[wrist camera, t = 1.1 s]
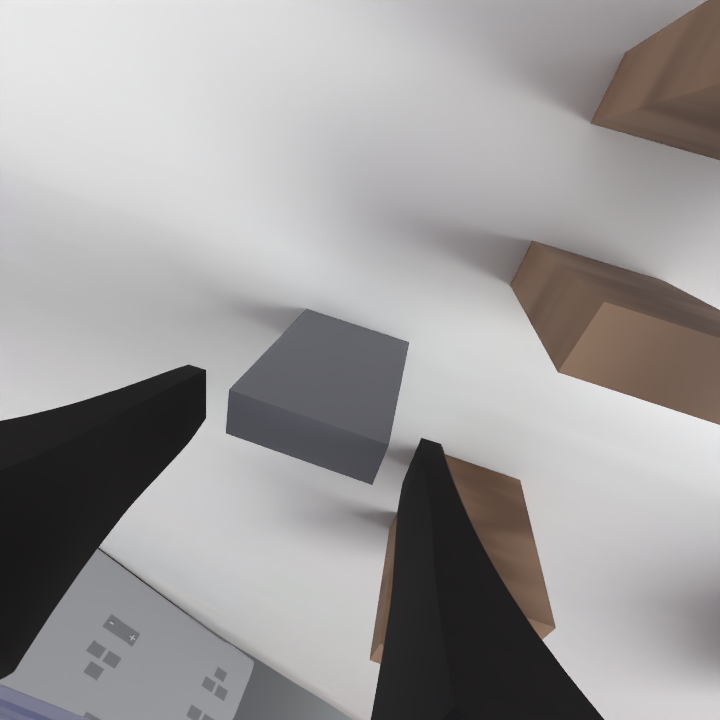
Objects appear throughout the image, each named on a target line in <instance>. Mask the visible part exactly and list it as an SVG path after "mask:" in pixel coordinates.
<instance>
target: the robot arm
mask: <svg viewBox="0 0 720 720" xmlns="http://www.w3.org/2000/svg"><path fill="white" fill-rule="evenodd" d="M205 419H206V370H204V369H201V368H198V367H195V366H191V365H186V366H183V367H179V368H177V369H174V370H171V371H168V372H165V373H162V374H160V375H157V376H154V377H151V378H149V379H146V380H143V381H140V382H138V383H135V384H132V385H129V386H126V387H124V388H121V389H118V390H115V391H112V392H109V393H105V394H102V395H99V396H96V397H93V398H90V399H87V400H84V401H80V402H77V403H74V404H70V405H67V406H63V407H59V408H56V409H52V410H48V411H44V412H40V413H36V414H32V415H27V416H23V417H18V418H13V419H8V420H3V421H0V680H1V679H3V678H5V677H7V676H8V675H10V674H12V673H13V672H14V671H15V670H16V668H17V666H18V665H19V663H20V662H21V660H22V658H23V657H24V655H25V654H26V652H27V651H28V649H29V648H30V646H31V644H32V643H33V641H34V640H35V638H36V637H37V635H38V634H39V632H40V631H41V629H42V628H43V626H44V624H45V623H46V621H47V620H48V618H49V617H50V615H51V614H52V612H53V611H54V609H55V608H56V606H57V605H58V603H59V602H60V601H61V599H62V598H63V596H64V595H65V593H66V592H67V590H68V589H69V588H70V586H71V585H72V583H73V582H74V580H75V579H76V577H77V576H78V575H79V573H80V572H81V570H82V569H83V568H84V566H85V565H86V564H87V562H88V561H89V559H90V558H91V557H92V555H93V554H94V553H95V551H96V550H97V549H98V547H99V546H100V544H101V543H102V542H103V540H104V539H105V538H106V536H107V535H108V534H109V533H110V531H111V530H112V529H113V527H114V526H115V525H116V524H117V522H118V521H119V520H120V518H121V517H122V516H123V514H124V513H125V512H126V511H127V510H128V508H129V507H130V506H131V505H132V504H133V503H134V501H135V500H136V499H137V498H138V497H139V496H140V495H141V494H142V493H143V492H144V490H145V489H146V488H147V487H148V486H149V485H150V484H151V483H152V482H153V481H154V480H155V479H156V478H157V477H158V476H159V474H160V473H161V472H162V471H163V470H164V469H165V468H166V467H167V466H168V465H169V464H170V463H171V462H172V461H173V459H174V458H175V457H176V456H177V455H178V454H179V453H180V452H181V451H182V450H183V448H184V447H185V446H186V445H187V444H188V443H189V441H190V440H191V439H192V437H193V436H194V435H195V433H196V432H197V430H198V429H199V428H200V426H201V425H202V423H203V422H204V420H205ZM0 720H91V719H88V718H86V717H83V716H81V715H78V714H76V713H73V712H70V711H68V710H65V709H63V708H60V707H58V706H55V705H53V704H50V703H48V702H45V701H42V700H40V699H37V698H35V697H32V696H30V695H27V694H25V693H22V692H20V691H17V690H14V689H12V688H9V687H7V686H4V685H2V684H0ZM371 720H604V719H603V718H602V716H601V715H600V714H599V713H598V711H597V710H596V709H595V708H594V706H593V705H592V704H591V703H590V702H589V700H588V699H587V698H586V697H585V695H584V694H583V693H582V692H581V690H580V689H579V688H578V687H577V686H576V684H575V683H574V682H573V681H572V679H571V678H570V677H569V676H568V674H567V673H566V672H565V670H564V669H563V668H562V666H561V665H560V664H559V662H558V661H557V660H556V658H555V657H554V656H553V654H552V653H551V652H550V650H549V649H548V648H547V646H546V645H545V644H544V642H543V641H542V639H541V638H540V637H539V635H538V634H537V632H536V631H535V630H534V628H533V627H532V625H531V624H530V622H529V621H528V619H527V618H526V616H525V615H524V613H523V612H522V610H521V609H520V607H519V606H518V604H517V603H516V601H515V600H514V598H513V597H512V595H511V594H510V592H509V590H508V589H507V587H506V586H505V584H504V582H503V581H502V579H501V577H500V576H499V574H498V572H497V570H496V569H495V567H494V565H493V563H492V562H491V560H490V558H489V556H488V554H487V552H486V551H485V549H484V547H483V545H482V543H481V541H480V539H479V537H478V535H477V533H476V531H475V529H474V526H473V524H472V522H471V520H470V518H469V516H468V514H467V511H466V509H465V507H464V504H463V502H462V499H461V497H460V495H459V492H458V490H457V487H456V485H455V482H454V479H453V477H452V474H451V471H450V468H449V465H448V463H447V460H446V457H445V453H444V450H443V447H442V446H441V444H439V443H436V442H433V441H430V440H426V439H423V438H421V440H420V443H419V445H418V447H417V450H416V452H415V455H414V457H413V459H412V462H411V464H410V466H409V469H408V471H407V474H406V476H405V478H404V481H403V484H402V489H401V495H400V500H399V506H398V512H397V523H396V537H395V552H394V567H393V582H392V593H391V603H390V609H389V616H388V622H387V628H386V635H385V641H384V647H383V653H382V659H381V665H380V671H379V677H378V683H377V689H376V694H375V700H374V705H373V711H372V717H371Z"/></svg>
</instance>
